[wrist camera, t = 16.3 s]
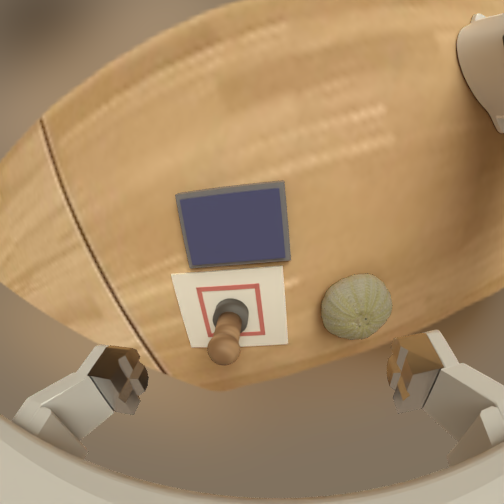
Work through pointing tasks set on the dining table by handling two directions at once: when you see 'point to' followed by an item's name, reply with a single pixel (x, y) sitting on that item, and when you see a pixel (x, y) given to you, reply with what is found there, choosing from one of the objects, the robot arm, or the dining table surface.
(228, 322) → the stamp
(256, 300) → the sheet
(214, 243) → the ink pad
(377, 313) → the sea urchin shell
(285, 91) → the dining table surface
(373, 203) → the dining table surface
